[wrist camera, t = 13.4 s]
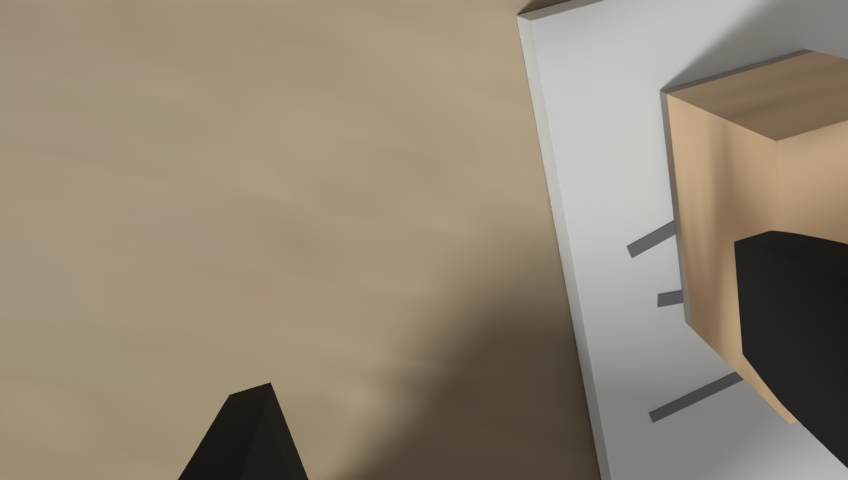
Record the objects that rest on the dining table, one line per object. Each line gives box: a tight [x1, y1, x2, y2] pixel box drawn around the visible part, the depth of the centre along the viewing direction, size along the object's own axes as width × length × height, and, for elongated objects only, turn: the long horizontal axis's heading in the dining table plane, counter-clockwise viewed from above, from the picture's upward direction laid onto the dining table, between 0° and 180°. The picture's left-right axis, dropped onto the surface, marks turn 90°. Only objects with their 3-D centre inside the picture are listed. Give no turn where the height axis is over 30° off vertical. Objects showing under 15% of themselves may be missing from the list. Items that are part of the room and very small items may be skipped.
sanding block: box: [660, 49, 848, 424], centre depth 19 cm, size 7×4×5 cm, turn 14°
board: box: [517, 0, 848, 480], centre depth 23 cm, size 18×10×1 cm, turn 14°
